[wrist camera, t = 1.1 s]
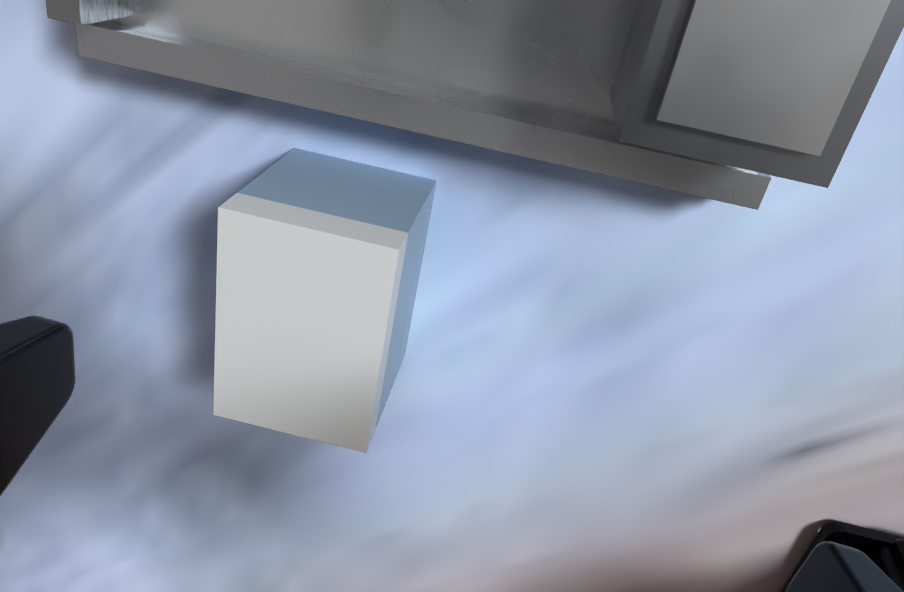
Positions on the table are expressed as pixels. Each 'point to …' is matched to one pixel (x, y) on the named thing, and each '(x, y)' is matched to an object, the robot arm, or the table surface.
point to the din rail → (543, 74)
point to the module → (317, 295)
